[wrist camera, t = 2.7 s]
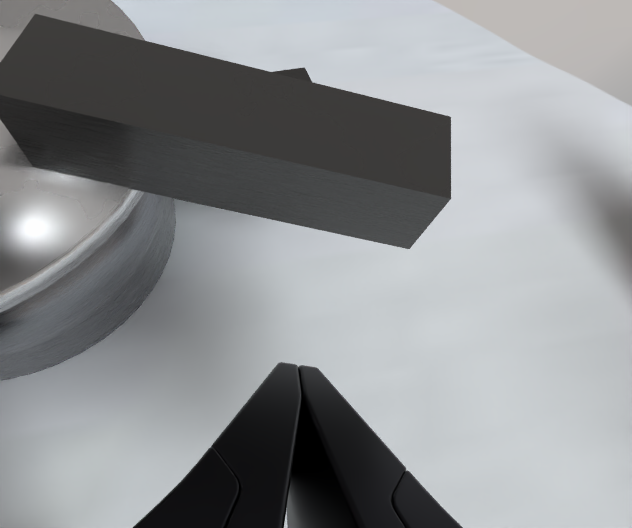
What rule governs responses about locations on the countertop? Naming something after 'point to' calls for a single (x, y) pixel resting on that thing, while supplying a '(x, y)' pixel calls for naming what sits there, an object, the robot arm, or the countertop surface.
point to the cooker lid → (187, 143)
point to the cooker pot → (94, 289)
